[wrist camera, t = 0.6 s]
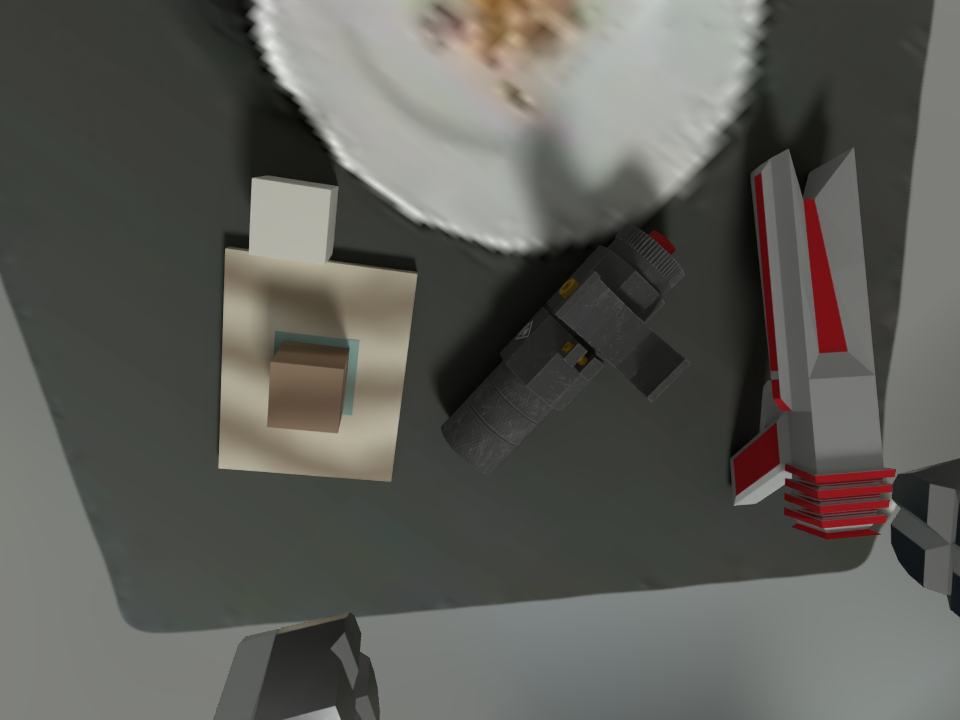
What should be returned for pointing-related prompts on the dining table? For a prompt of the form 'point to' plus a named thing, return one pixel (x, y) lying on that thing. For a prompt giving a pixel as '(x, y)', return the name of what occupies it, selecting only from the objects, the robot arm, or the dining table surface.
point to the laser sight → (575, 347)
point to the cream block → (292, 219)
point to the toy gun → (815, 355)
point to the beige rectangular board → (323, 321)
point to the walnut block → (307, 387)
